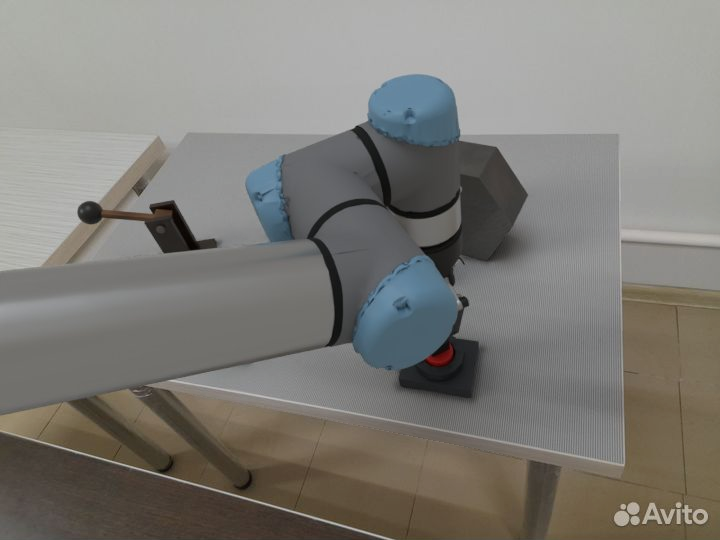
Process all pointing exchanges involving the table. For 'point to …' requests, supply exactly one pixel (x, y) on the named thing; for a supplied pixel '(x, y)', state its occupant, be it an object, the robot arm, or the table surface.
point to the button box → (446, 371)
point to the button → (441, 358)
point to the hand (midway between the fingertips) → (438, 349)
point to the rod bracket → (174, 231)
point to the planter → (487, 198)
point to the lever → (113, 213)
